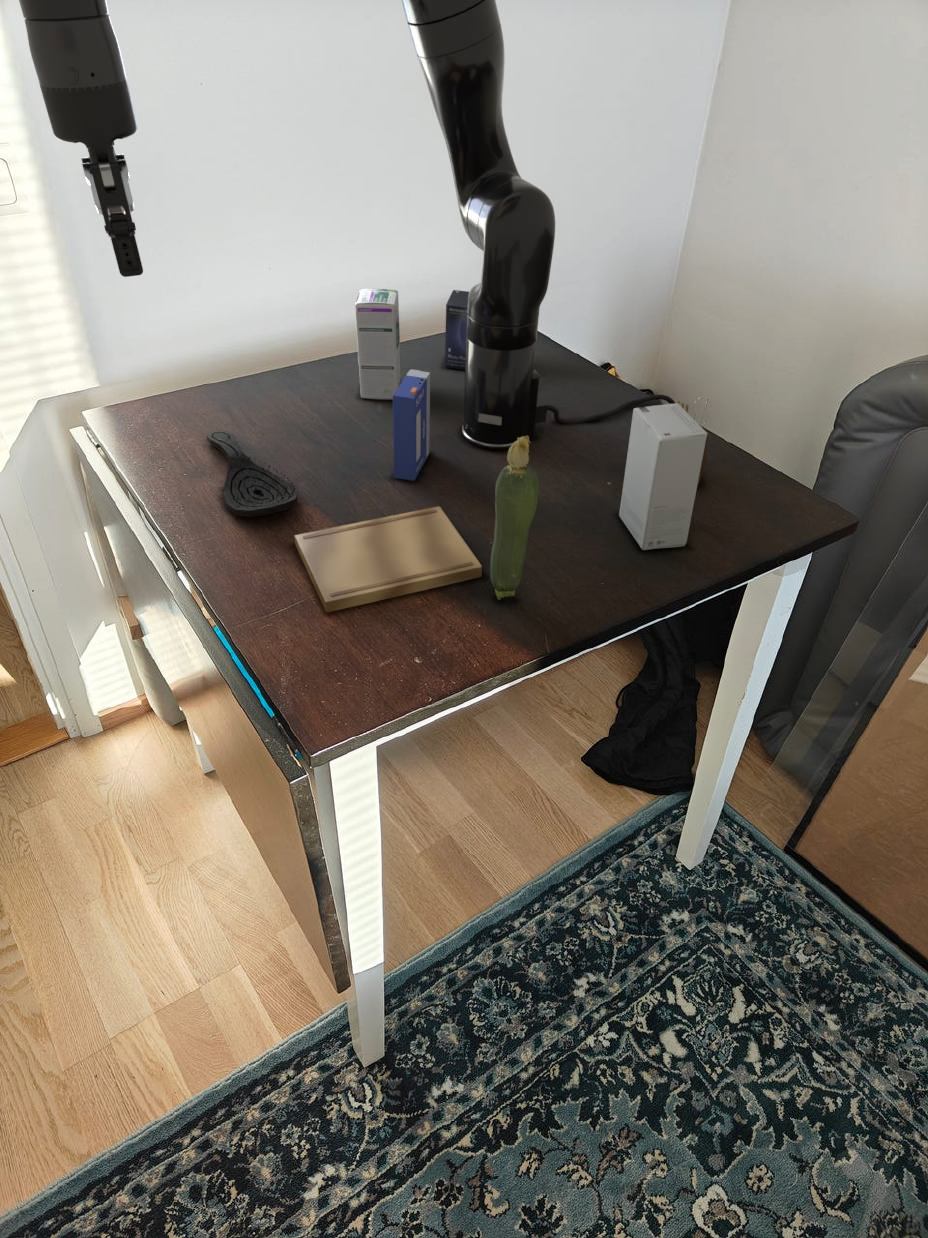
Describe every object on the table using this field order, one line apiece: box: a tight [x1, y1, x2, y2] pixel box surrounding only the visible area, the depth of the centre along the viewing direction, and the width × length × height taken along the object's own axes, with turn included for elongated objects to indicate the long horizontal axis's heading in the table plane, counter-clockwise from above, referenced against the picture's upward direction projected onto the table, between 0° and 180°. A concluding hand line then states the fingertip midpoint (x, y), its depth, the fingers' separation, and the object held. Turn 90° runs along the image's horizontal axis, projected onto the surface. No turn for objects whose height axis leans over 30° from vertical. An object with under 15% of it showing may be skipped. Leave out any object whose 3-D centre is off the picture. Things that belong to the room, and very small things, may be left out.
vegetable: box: [489, 436, 540, 601], centre depth 89 cm, size 4×4×20 cm
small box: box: [444, 289, 470, 371], centre depth 137 cm, size 11×6×10 cm, turn 80°
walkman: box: [392, 368, 431, 482], centre depth 112 cm, size 8×3×12 cm, turn 167°
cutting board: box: [294, 505, 483, 614], centre depth 99 cm, size 18×13×2 cm
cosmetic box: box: [618, 402, 709, 551], centre depth 101 cm, size 8×6×15 cm
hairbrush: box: [206, 430, 299, 518], centre depth 111 cm, size 8×4×25 cm
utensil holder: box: [676, 396, 712, 484], centre depth 111 cm, size 6×6×12 cm
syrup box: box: [354, 288, 402, 400], centre depth 127 cm, size 6×6×14 cm
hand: (129, 262), depth 89 cm, fingers open, 8 cm apart
